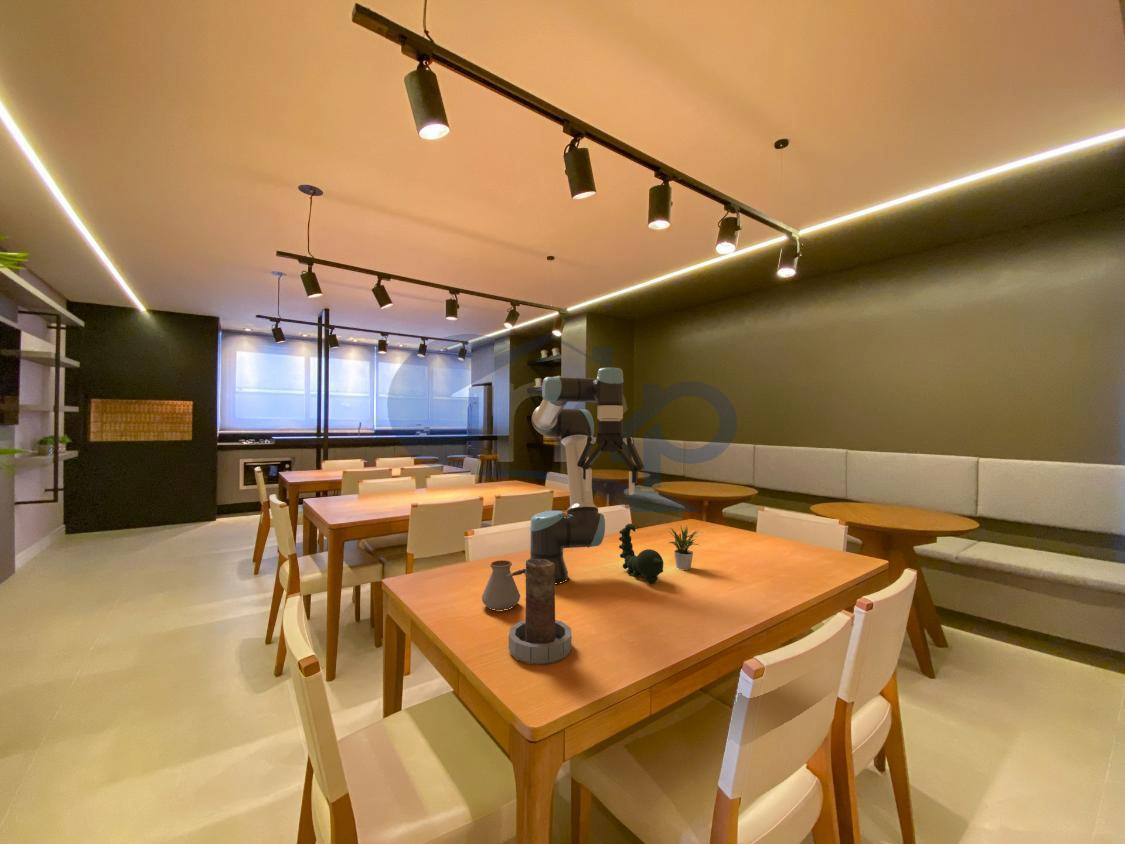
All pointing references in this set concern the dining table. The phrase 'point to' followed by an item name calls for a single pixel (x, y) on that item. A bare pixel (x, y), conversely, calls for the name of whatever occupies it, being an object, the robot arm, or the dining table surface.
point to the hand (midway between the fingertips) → (609, 492)
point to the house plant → (683, 549)
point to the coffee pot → (501, 587)
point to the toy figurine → (639, 558)
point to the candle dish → (540, 645)
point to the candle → (540, 601)
